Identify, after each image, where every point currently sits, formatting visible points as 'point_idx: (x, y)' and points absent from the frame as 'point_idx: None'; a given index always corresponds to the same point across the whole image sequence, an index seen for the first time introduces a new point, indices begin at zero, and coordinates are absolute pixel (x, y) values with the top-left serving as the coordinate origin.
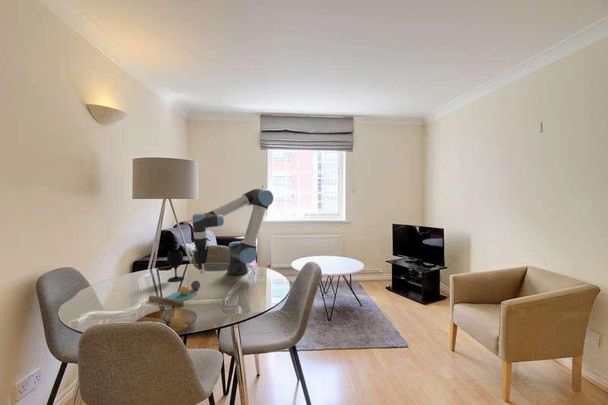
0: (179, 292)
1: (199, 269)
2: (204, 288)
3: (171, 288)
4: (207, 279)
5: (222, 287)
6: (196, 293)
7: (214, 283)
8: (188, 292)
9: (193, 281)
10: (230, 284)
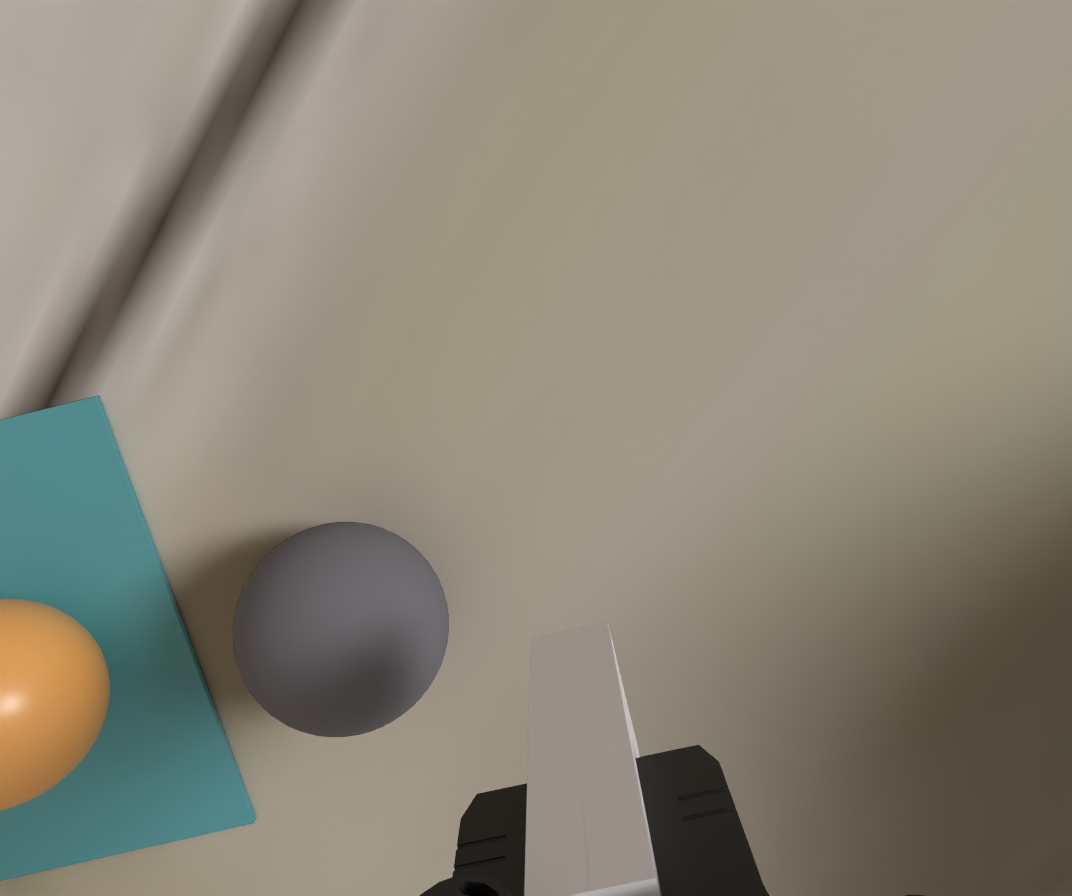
0: (21, 489)
1: (529, 721)
2: (509, 674)
3: (11, 68)
4: (939, 230)
5: None
6: (238, 793)
7: (827, 595)
8: (157, 632)
9: (288, 624)
10: (954, 879)
